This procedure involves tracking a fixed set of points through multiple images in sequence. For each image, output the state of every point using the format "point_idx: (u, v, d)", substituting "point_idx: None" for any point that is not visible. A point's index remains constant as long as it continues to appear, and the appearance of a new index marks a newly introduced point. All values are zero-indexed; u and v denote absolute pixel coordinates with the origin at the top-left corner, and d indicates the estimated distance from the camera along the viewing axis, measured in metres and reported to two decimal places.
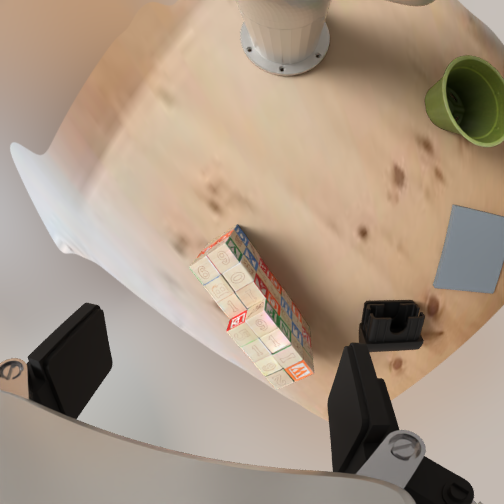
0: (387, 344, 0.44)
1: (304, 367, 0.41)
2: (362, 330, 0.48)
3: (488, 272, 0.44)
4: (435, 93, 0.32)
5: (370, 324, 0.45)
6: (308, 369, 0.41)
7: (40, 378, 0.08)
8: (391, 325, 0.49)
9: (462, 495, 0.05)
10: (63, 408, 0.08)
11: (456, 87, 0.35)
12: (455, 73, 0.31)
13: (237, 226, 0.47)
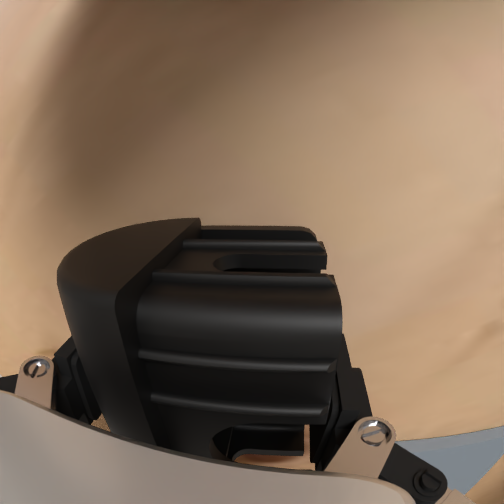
0: (139, 427, 0.06)
1: None
2: (181, 237, 0.09)
3: None
4: None
5: (275, 297, 0.06)
6: None
7: (66, 375, 0.08)
8: None
9: (434, 485, 0.05)
10: (88, 405, 0.09)
11: None
12: None
13: None
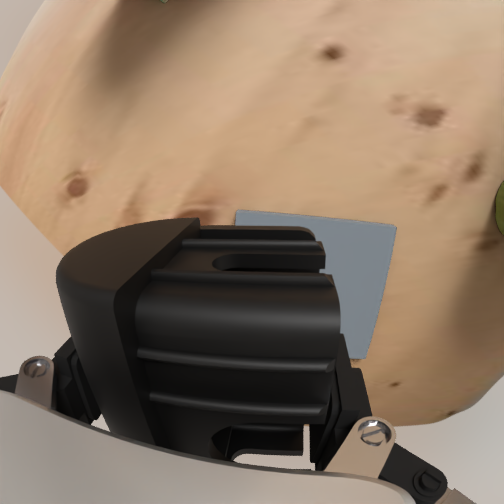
0: (138, 426, 0.06)
1: None
2: (180, 237, 0.09)
3: None
4: None
5: (273, 296, 0.06)
6: None
7: (66, 375, 0.08)
8: None
9: (434, 485, 0.05)
10: (88, 405, 0.09)
11: None
12: None
13: None
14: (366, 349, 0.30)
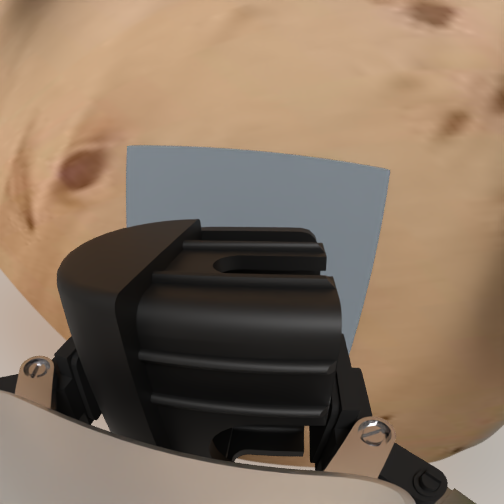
0: (140, 428, 0.06)
1: None
2: (181, 238, 0.09)
3: None
4: None
5: (274, 298, 0.06)
6: None
7: (66, 375, 0.08)
8: None
9: (434, 485, 0.05)
10: (88, 405, 0.09)
11: None
12: None
13: None
14: None
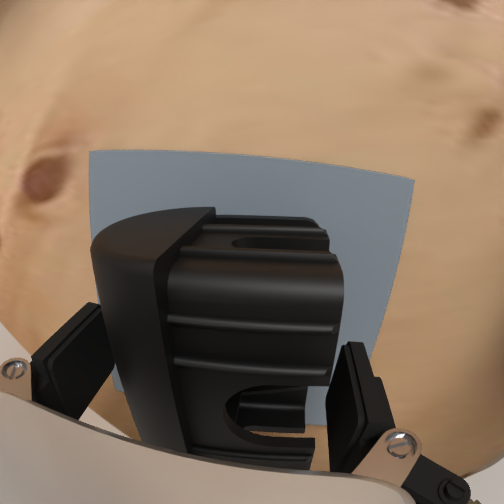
0: (162, 390, 0.08)
1: None
2: (201, 222, 0.10)
3: None
4: None
5: (287, 268, 0.07)
6: None
7: (43, 378, 0.08)
8: None
9: (459, 493, 0.05)
10: (66, 407, 0.08)
11: None
12: None
13: None
14: None
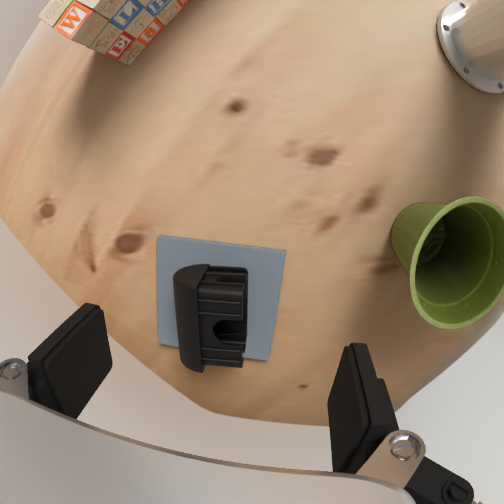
0: (195, 321, 0.29)
1: (78, 22, 0.17)
2: (205, 271, 0.32)
3: None
4: None
5: (229, 287, 0.29)
6: (76, 27, 0.18)
7: (40, 378, 0.08)
8: None
9: (462, 495, 0.05)
10: (63, 408, 0.08)
11: (445, 253, 0.31)
12: (476, 241, 0.26)
13: None
14: (268, 352, 0.37)
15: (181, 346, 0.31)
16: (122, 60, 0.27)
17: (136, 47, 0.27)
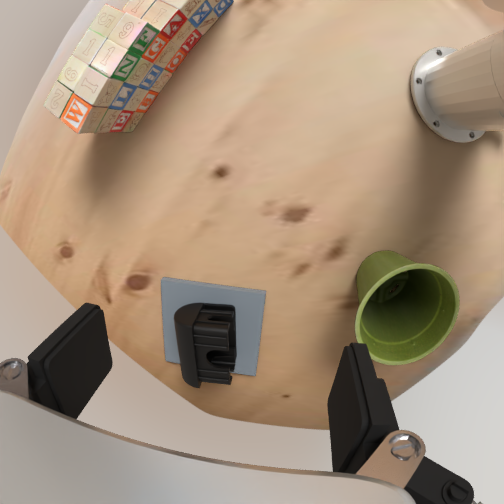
0: (191, 351, 0.37)
1: (81, 116, 0.25)
2: (200, 310, 0.39)
3: None
4: (407, 259, 0.32)
5: (217, 326, 0.36)
6: (81, 121, 0.25)
7: (40, 378, 0.08)
8: None
9: (462, 495, 0.05)
10: (63, 408, 0.08)
11: (406, 292, 0.38)
12: (429, 288, 0.32)
13: (231, 0, 0.29)
14: (254, 369, 0.45)
15: (182, 367, 0.39)
16: (125, 130, 0.34)
17: (136, 117, 0.34)
